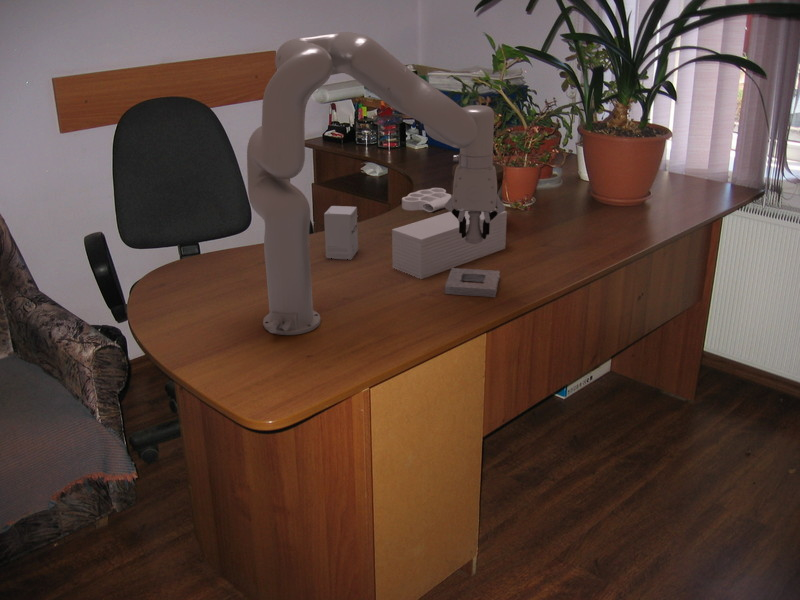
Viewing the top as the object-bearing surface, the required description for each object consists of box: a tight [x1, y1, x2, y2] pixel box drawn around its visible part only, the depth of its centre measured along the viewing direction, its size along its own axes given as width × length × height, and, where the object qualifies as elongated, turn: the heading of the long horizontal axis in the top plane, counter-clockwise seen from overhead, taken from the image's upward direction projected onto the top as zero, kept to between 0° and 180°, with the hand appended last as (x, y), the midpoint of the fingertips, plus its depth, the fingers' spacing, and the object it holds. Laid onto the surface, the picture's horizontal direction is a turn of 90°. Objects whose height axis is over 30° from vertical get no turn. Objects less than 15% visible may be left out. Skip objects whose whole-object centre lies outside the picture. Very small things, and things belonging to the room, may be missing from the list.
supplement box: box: [323, 205, 359, 261], centre depth 219 cm, size 7×7×13 cm
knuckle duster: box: [401, 187, 451, 213], centre depth 262 cm, size 3×18×15 cm
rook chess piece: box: [465, 211, 483, 244], centre depth 194 cm, size 4×4×8 cm
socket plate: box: [444, 267, 501, 298], centre depth 200 cm, size 12×12×2 cm
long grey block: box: [391, 208, 508, 280], centre depth 216 cm, size 32×11×11 cm, turn 133°
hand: (474, 235), depth 195 cm, fingers closed on rook chess piece, 4 cm apart
